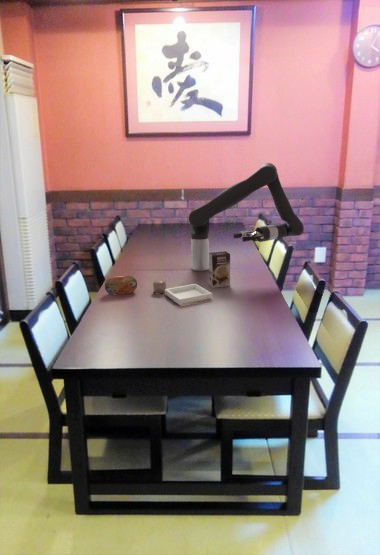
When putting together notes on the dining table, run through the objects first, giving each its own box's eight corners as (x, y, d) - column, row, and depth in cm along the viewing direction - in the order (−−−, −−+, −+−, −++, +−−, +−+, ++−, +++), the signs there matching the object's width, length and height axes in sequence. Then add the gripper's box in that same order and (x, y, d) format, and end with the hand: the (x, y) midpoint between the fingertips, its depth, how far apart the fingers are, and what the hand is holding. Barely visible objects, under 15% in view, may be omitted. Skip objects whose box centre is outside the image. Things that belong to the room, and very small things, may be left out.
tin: (105, 296, 219) (104, 278, 217) (105, 294, 222) (103, 277, 219) (137, 292, 223) (136, 275, 220) (136, 290, 226) (135, 273, 223)
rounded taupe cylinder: (151, 291, 224) (151, 281, 222) (163, 289, 226) (162, 279, 225) (156, 294, 219) (156, 284, 217) (168, 292, 221) (167, 282, 220)
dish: (164, 294, 217) (164, 289, 216) (195, 288, 224) (195, 283, 223) (179, 305, 203) (179, 299, 203) (211, 298, 210) (211, 293, 209)
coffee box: (212, 288, 225) (212, 255, 220) (208, 284, 231) (208, 252, 226) (230, 286, 227) (230, 253, 222) (226, 282, 233) (226, 250, 228)
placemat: (165, 294, 218) (165, 293, 218) (193, 289, 224) (193, 288, 224) (181, 306, 203) (181, 305, 203) (212, 300, 209) (212, 299, 209)
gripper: (258, 223, 238) (230, 227, 232) (274, 228, 226) (245, 232, 219) (258, 238, 240) (231, 242, 234) (274, 243, 228) (246, 248, 222)
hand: (238, 237), depth 227 cm, fingers open, 8 cm apart
